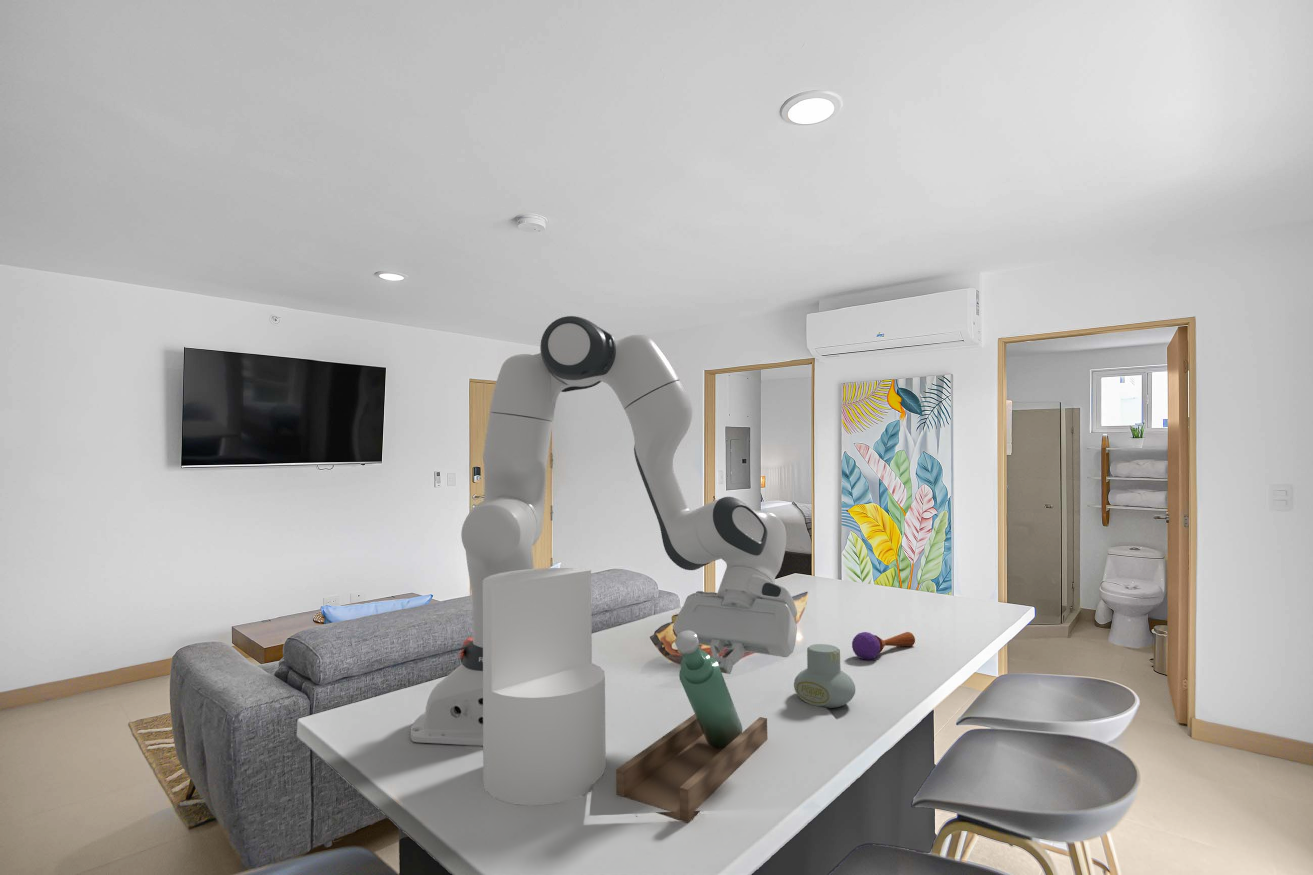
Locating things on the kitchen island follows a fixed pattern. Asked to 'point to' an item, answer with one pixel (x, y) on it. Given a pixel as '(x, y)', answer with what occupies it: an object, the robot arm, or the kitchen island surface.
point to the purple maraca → (878, 643)
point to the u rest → (685, 768)
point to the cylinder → (541, 687)
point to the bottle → (707, 692)
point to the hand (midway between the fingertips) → (719, 670)
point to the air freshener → (824, 678)
